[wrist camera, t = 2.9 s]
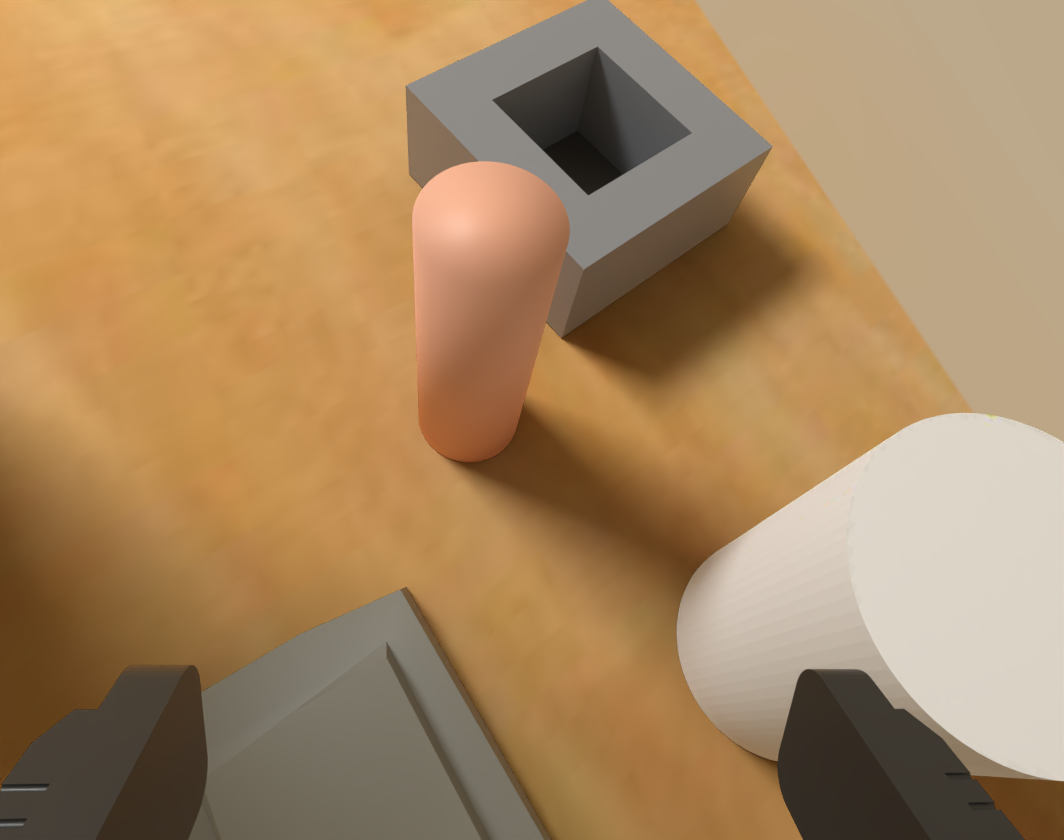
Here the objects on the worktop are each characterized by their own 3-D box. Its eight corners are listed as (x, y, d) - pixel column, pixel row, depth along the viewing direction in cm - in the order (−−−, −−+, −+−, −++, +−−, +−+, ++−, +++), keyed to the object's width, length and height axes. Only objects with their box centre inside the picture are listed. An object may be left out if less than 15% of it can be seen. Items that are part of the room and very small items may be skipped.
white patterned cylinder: (925, 653, 27) (1249, 596, 17) (798, 818, 24) (1091, 879, 14) (768, 497, 29) (967, 354, 18) (632, 633, 26) (774, 558, 15)
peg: (459, 481, 28) (479, 316, 17) (398, 407, 29) (379, 204, 18) (537, 425, 29) (601, 238, 18) (476, 355, 30) (503, 139, 19)
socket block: (561, 338, 31) (583, 269, 26) (409, 173, 34) (405, 85, 29) (728, 223, 35) (772, 146, 30) (580, 83, 37) (600, -7, 33)
